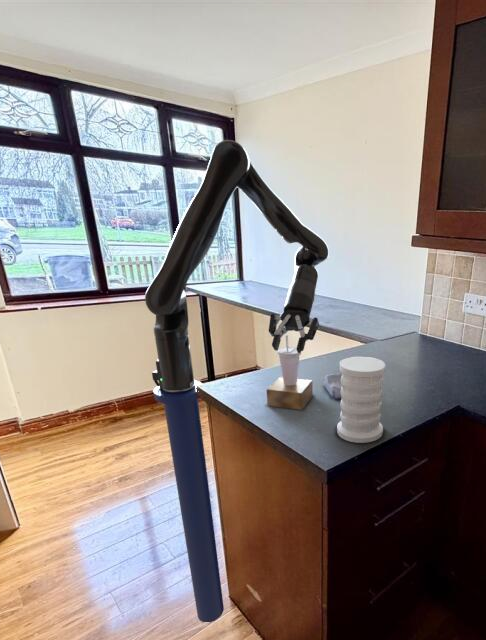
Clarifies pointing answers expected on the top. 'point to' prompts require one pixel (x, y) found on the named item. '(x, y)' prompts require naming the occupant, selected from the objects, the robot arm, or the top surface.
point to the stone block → (333, 385)
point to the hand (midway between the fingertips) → (286, 350)
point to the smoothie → (289, 364)
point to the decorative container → (361, 399)
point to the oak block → (289, 394)
